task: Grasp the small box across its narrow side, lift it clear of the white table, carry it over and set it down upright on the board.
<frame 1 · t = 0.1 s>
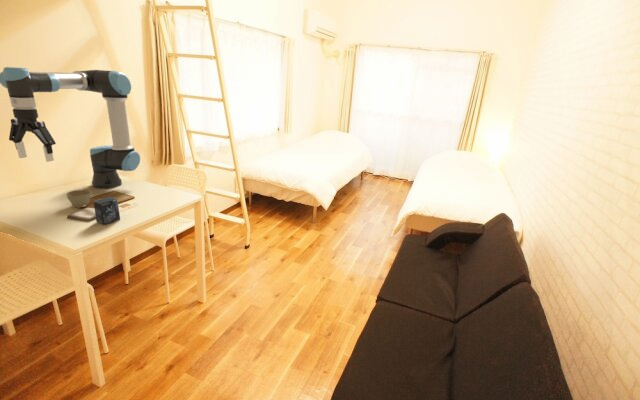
hand: (36, 159, 142), 28 cm above the table, fingers open, 13 cm apart
box: (108, 221, 154), on the table
flower pot: (81, 206, 168), on the table
board: (89, 214, 159), on the table
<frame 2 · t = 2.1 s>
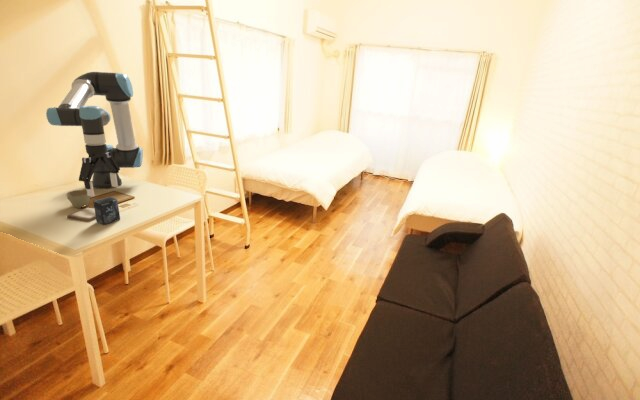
hand: (103, 191, 149), 15 cm above the table, fingers open, 13 cm apart
nothing on the table moved.
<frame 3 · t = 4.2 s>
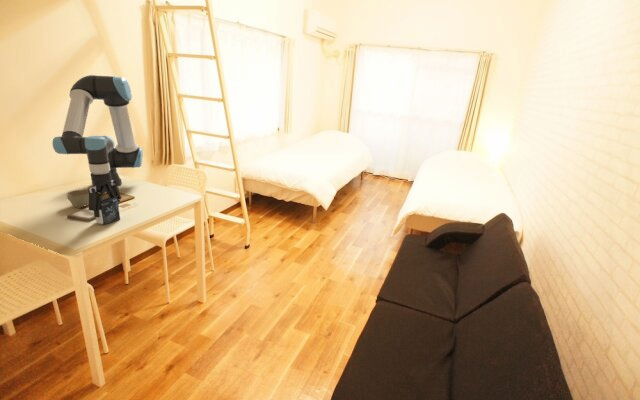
hand: (108, 218, 154), 1 cm above the table, fingers closed on box, 9 cm apart
box: (108, 221, 154), on the table, touching gripper
everything else where it was.
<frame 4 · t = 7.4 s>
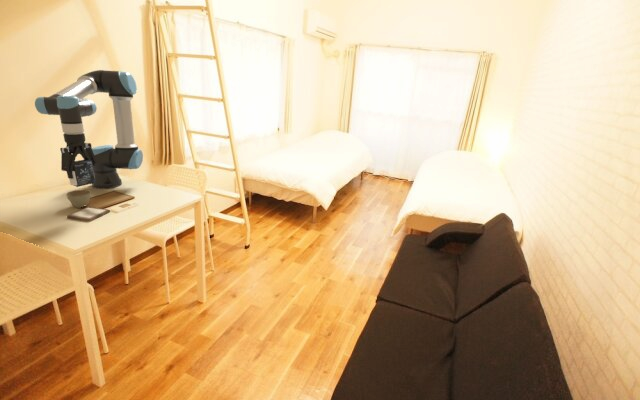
hand: (83, 181, 153), 17 cm above the table, fingers closed on box, 9 cm apart
box: (83, 184, 153), point 15 cm above the table, touching gripper
everything else where it was.
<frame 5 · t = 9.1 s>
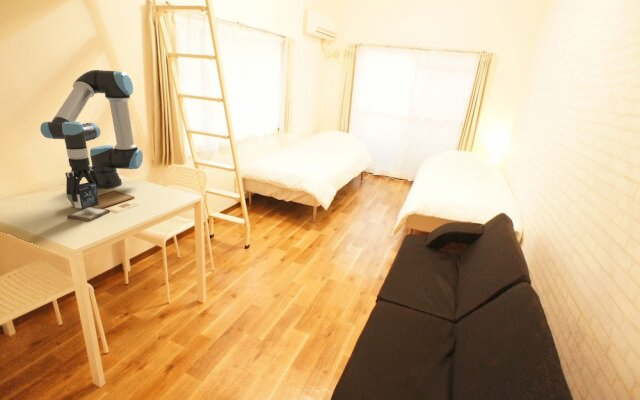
hand: (87, 204, 157), 6 cm above the table, fingers closed on box, 9 cm apart
box: (87, 206, 157), point 4 cm above the table, touching gripper
everything else where it was.
when the fingers open (3 cm above the table, at t = 10.5 s): box drops 1 cm, resting on board.
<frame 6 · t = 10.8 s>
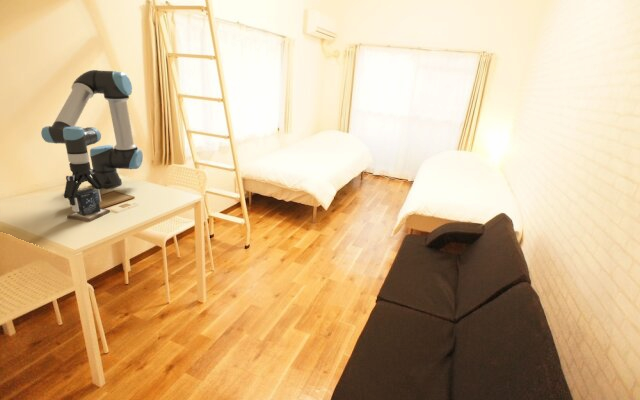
hand: (87, 206, 157), 4 cm above the table, fingers open, 12 cm apart
box: (89, 212, 158), point 1 cm above the table, touching board
everything else where it was.
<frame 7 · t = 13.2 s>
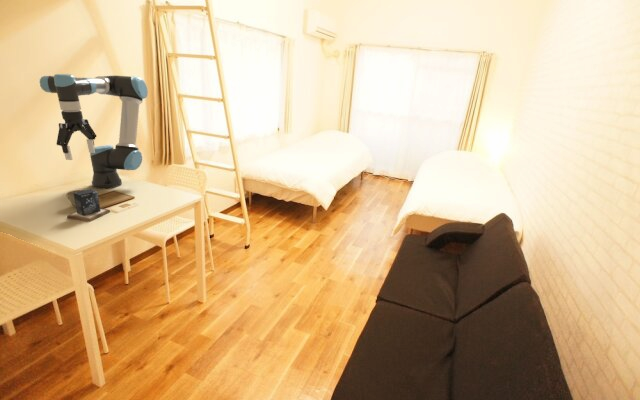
hand: (81, 156, 159), 26 cm above the table, fingers open, 13 cm apart
nothing on the table moved.
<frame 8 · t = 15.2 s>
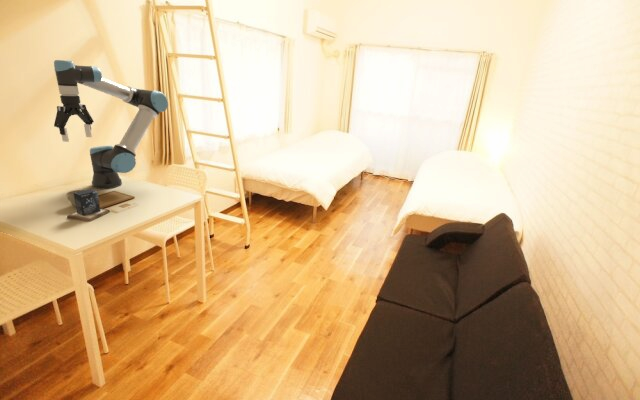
hand: (77, 139, 167), 32 cm above the table, fingers open, 13 cm apart
nothing on the table moved.
at the end: box inside the target area on the board (0.2 cm from its centre), point 1.1 cm above the board's base; box tilted 0°; the gripper is holding nothing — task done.
